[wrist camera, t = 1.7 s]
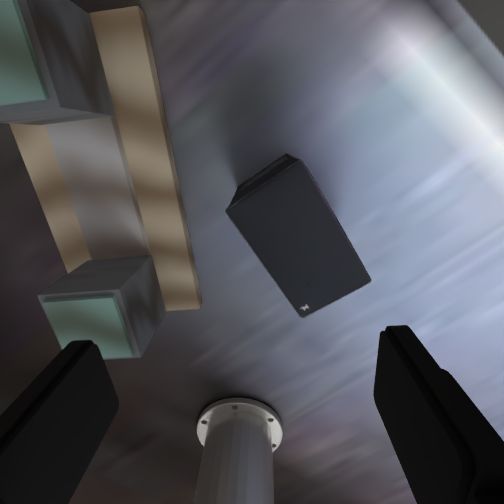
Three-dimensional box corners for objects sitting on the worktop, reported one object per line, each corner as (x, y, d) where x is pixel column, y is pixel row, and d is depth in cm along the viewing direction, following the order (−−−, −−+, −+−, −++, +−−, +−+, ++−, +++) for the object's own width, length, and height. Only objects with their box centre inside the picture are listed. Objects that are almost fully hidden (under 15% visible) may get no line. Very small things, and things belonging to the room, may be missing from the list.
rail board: (202, 301, 33) (179, 363, 24) (91, 309, 34) (29, 371, 25) (145, 13, 23) (67, -70, 14) (-11, 36, 24) (-180, -27, 15)
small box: (341, 236, 30) (378, 283, 20) (288, 266, 31) (300, 323, 22) (289, 149, 27) (305, 155, 17) (234, 187, 28) (219, 213, 18)
